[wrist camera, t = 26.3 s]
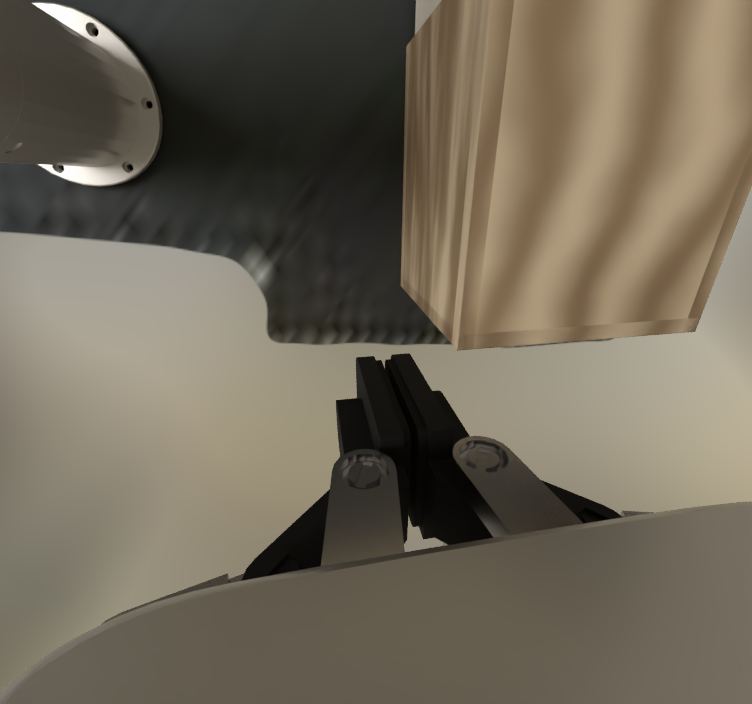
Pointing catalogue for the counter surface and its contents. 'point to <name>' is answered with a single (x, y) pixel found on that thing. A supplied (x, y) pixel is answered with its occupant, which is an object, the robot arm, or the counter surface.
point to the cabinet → (573, 165)
